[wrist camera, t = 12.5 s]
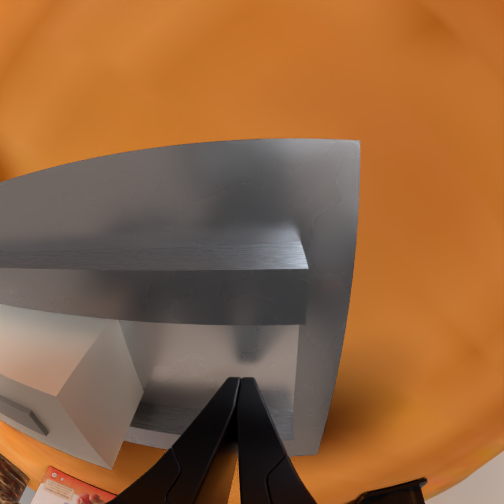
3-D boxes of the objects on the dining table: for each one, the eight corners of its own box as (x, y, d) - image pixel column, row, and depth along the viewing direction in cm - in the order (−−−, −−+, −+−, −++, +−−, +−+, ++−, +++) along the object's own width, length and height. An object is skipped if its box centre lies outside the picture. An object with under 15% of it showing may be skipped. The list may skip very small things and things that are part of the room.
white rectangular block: (116, 312, 9) (50, 404, 5) (144, 391, 10) (109, 476, 6) (-41, 289, 10) (-86, 326, 6) (-16, 346, 11) (-52, 387, 7)
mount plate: (348, 140, 8) (381, 142, 5) (315, 436, 13) (319, 478, 10) (-56, 203, 9) (-87, 218, 7) (16, 387, 14) (-1, 410, 12)
